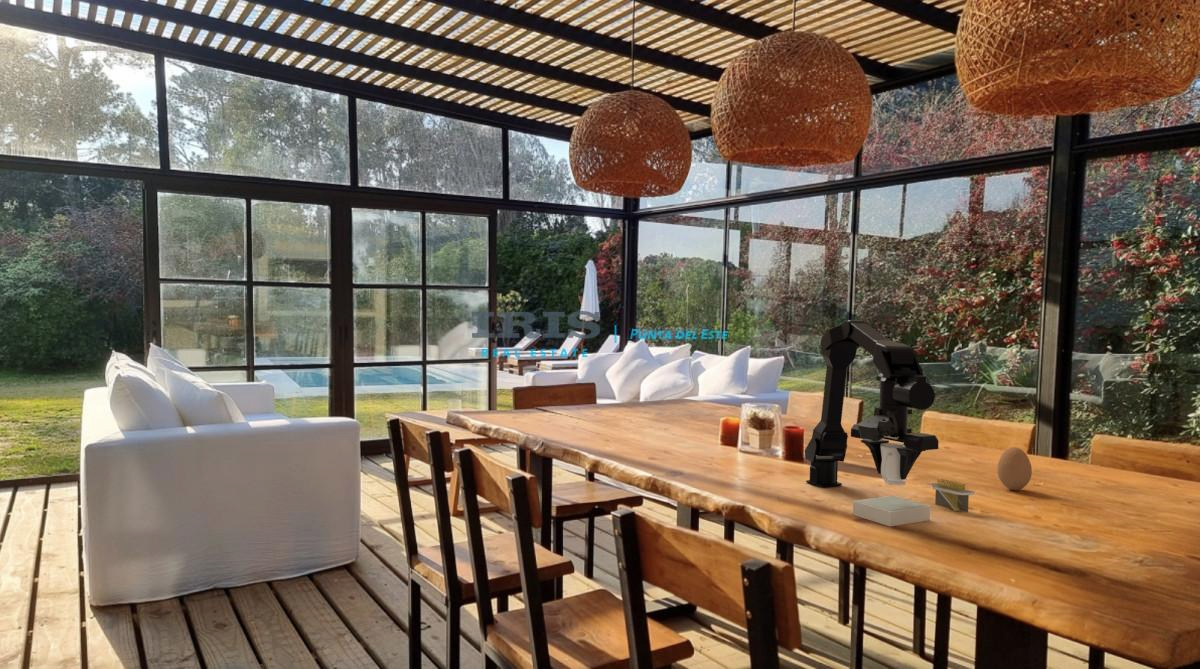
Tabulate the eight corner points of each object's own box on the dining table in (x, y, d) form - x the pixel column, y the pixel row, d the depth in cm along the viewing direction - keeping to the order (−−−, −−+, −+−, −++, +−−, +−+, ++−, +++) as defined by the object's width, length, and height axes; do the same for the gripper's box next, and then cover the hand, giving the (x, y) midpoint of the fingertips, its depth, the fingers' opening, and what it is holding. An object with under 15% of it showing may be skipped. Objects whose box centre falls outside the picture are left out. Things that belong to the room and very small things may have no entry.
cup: (918, 483, 159) (919, 446, 159) (898, 490, 152) (900, 452, 152) (886, 477, 164) (887, 441, 164) (865, 484, 157) (867, 446, 157)
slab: (891, 508, 166) (892, 495, 166) (929, 520, 157) (930, 505, 157) (852, 514, 160) (852, 500, 160) (889, 526, 151) (890, 511, 151)
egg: (992, 485, 192) (994, 444, 192) (1024, 487, 190) (1026, 445, 190) (1002, 492, 184) (1003, 449, 184) (1035, 494, 183) (1037, 450, 183)
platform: (971, 523, 156) (972, 492, 156) (897, 504, 172) (898, 476, 172) (1003, 516, 163) (1004, 486, 163) (929, 498, 178) (930, 471, 178)
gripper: (833, 400, 163) (831, 470, 163) (903, 411, 146) (900, 489, 147) (869, 398, 168) (867, 466, 168) (941, 408, 151) (938, 484, 152)
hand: (891, 476), depth 158 cm, fingers closed on cup, 6 cm apart
